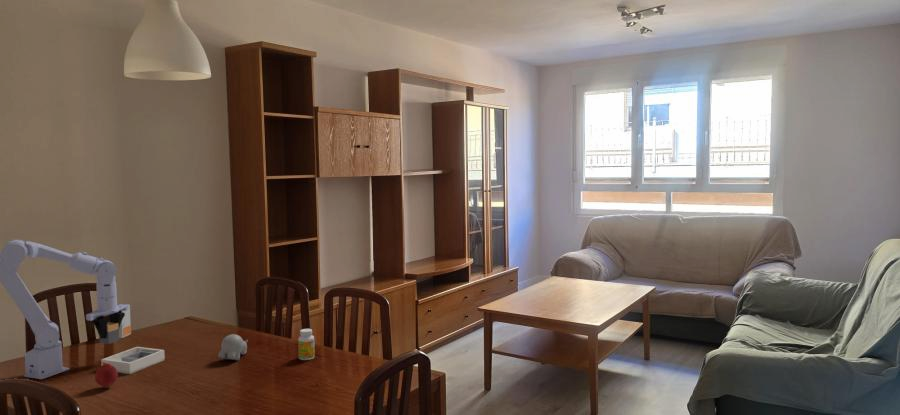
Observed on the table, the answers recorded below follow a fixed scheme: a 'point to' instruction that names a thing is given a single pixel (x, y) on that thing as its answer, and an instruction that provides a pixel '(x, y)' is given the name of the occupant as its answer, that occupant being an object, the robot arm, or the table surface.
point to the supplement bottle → (306, 345)
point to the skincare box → (125, 324)
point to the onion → (106, 375)
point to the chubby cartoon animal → (232, 347)
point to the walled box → (135, 359)
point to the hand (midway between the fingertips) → (109, 336)
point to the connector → (111, 333)
